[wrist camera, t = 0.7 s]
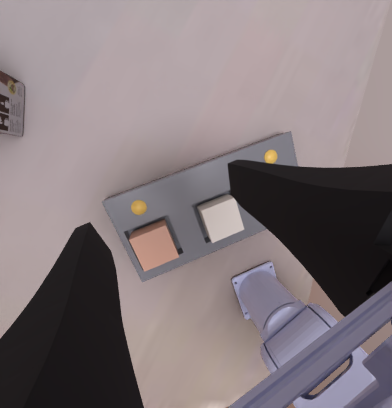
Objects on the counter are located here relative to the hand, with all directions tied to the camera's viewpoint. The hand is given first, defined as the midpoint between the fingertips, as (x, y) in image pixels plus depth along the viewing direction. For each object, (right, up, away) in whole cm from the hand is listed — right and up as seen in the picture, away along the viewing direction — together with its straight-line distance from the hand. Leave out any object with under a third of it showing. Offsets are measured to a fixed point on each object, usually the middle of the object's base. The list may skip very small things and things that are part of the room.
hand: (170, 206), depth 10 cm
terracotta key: (-5, -5, +19) cm, 20 cm away
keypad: (+4, 0, +21) cm, 22 cm away
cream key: (+4, -2, +20) cm, 21 cm away
